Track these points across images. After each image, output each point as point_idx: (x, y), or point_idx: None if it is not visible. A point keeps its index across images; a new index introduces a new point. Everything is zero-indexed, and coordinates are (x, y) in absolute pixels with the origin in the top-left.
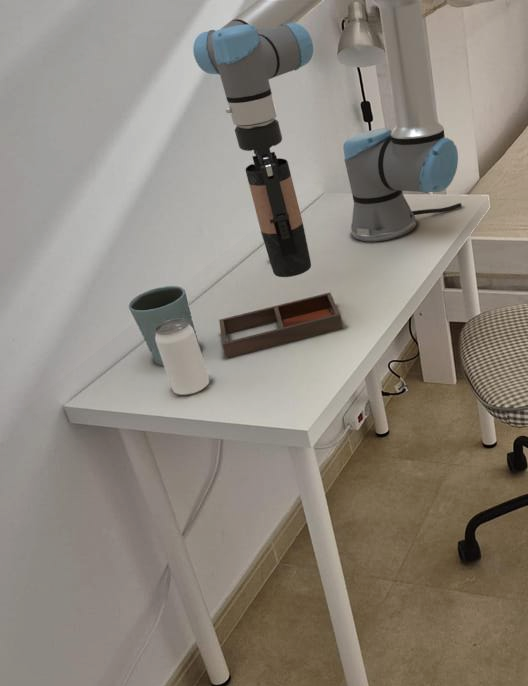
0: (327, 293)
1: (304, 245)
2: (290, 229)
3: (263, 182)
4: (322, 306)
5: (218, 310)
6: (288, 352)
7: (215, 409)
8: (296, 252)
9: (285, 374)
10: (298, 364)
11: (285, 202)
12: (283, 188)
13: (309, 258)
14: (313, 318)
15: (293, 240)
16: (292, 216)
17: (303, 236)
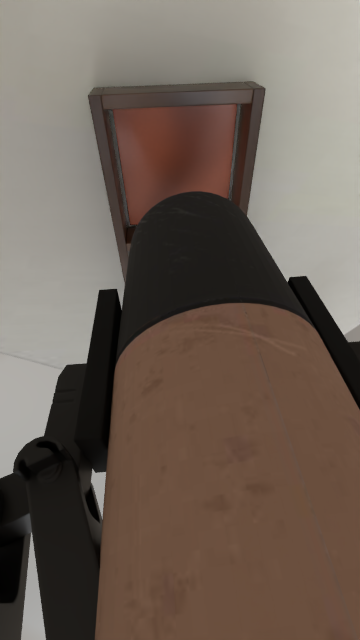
0: (95, 106)
1: (258, 247)
2: (354, 360)
3: None
4: (110, 126)
5: (39, 321)
6: (274, 221)
7: (352, 313)
8: (307, 279)
9: (347, 230)
10: (333, 207)
11: None
12: None
13: (220, 205)
14: (155, 157)
15: (329, 316)
16: (351, 395)
17: (266, 267)
